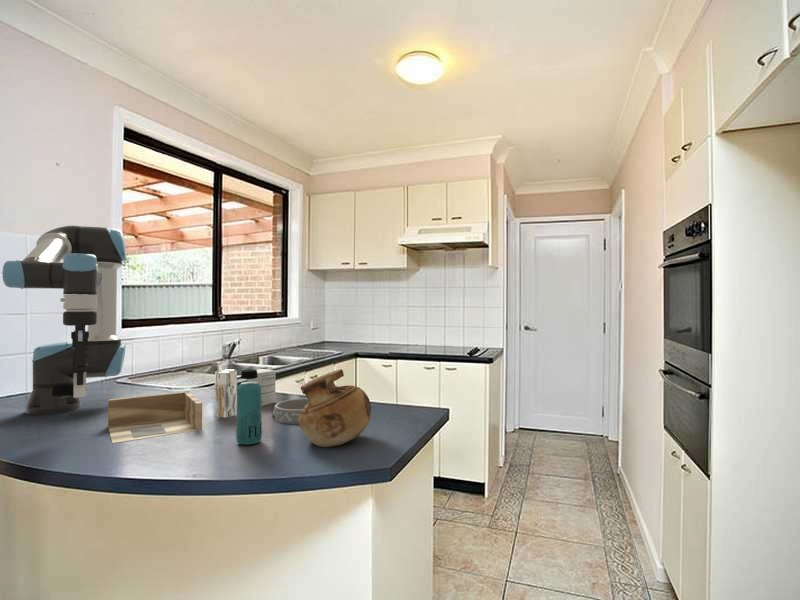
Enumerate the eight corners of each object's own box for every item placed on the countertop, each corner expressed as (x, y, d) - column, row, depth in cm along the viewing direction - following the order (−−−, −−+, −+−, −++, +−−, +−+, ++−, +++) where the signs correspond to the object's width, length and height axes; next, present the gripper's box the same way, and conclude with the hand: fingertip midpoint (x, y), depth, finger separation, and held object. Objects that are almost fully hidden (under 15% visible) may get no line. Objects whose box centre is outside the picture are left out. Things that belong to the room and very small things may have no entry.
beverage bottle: (247, 452, 113) (247, 372, 113) (230, 447, 117) (230, 370, 117) (267, 445, 119) (268, 369, 119) (250, 440, 122) (251, 367, 122)
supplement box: (246, 405, 163) (246, 370, 163) (262, 401, 169) (263, 368, 169) (259, 408, 159) (259, 372, 159) (276, 404, 165) (276, 370, 165)
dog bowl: (277, 430, 133) (277, 412, 133) (269, 415, 150) (269, 399, 150) (334, 424, 140) (334, 407, 140) (319, 411, 157) (319, 395, 157)
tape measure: (75, 397, 119) (76, 382, 120) (45, 399, 118) (46, 384, 118) (86, 396, 126) (87, 382, 126) (58, 398, 124) (58, 384, 125)
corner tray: (108, 427, 134) (108, 399, 134) (188, 416, 147) (188, 391, 147) (112, 445, 118) (112, 413, 118) (202, 431, 131) (202, 402, 131)
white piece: (209, 418, 145) (209, 371, 145) (225, 413, 152) (225, 368, 152) (226, 420, 142) (226, 373, 142) (241, 415, 149) (242, 370, 149)
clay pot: (308, 434, 129) (309, 364, 129) (373, 435, 128) (374, 364, 128) (290, 457, 110) (290, 375, 110) (366, 458, 109) (367, 375, 109)
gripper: (63, 309, 129) (63, 388, 129) (61, 312, 112) (61, 403, 112) (95, 309, 133) (95, 386, 134) (98, 311, 117) (97, 399, 117)
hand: (79, 393), depth 123 cm, fingers closed on tape measure, 8 cm apart
